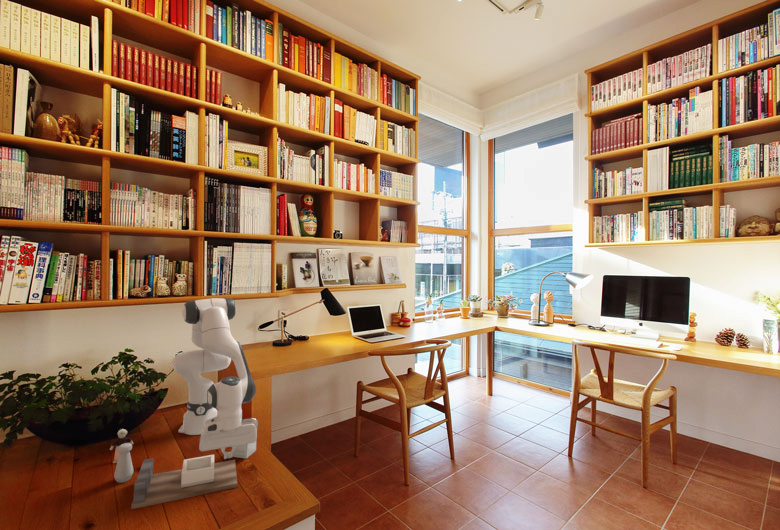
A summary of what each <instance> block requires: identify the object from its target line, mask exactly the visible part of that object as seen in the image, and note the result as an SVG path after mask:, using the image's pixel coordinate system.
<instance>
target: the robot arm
mask: <svg viewBox="0 0 780 530" xmlns="http://www.w3.org/2000/svg"><path fill="white" fill-rule="evenodd" d="M236 312H237V305H236V303H235V301H234V299H233V298H230V297H224V298H222V297H221V298H220V297H217V298H215V297H212V298H210V297H209V298H203V299H196V300H195V299H194V300H193V299H192V300H188V301H186V302H185V303H184V304H183V306H182V311H181V314H182V318H183V320H184V322H185V323H187V324H190V325H191V326H192V327H191V342H192V343H193V344H194V345H195V347H197V348H201V349H197V350H196V349H195V350H193V349H192V350H186V351H181V352H179V353H177V354H176V355H175V356H174V358H173V360H172V368H173V370H174V372H176V373H177V374H178V375H180V376H181V377H183V379H184V380H185V382H186V383H187V387H188V402H187V405H186V407H187V408H186V409H187V411H186V412H185V413H184V414H183V421H182V425H180V427H179V429H177V431H178V434H179V433H181V434H186V435H189V436H198V435H200V437H199V446H198V450H199V451H200V452H207V451H212V450H218V449H220V450H221V453H222V454H223V459H224V460H227V459H232V458H233V457H232V453H233V452H234V451H235V449H236V446H238V445H244V444H250V443H255V441H256V442H257V439H258V436H257V435H258V433H257V434H256V428H257V429H258V426H259V425H258V424H259V422H258V421H259V420H258V419H256V418H254V417H250V418H243V409H242V404H247V403H248V404H249V403H250V402H251V401H252V400H253V399H254V397H255V396H256V394H257V386H256V384H255V380H254V379H253V377H252V375H251V372H250V368H249V364H248V361H247V358H246V355H245V352H244V350H243V347H242V344H241V343H240V342H239V341H237V340H236V339H235V338H234V337H233V335H232V333H231V326H230V320H233V319H234V318H235V316H236ZM232 361H233V363H234V366H235V370H236V374H237V376H238V377H237V376H226V377H223V378H221V380H220V381H219V382H215V383H214V382H213V380H211V379H210V378H206V377H204V376H202V375H201V374H202V373H210V372H218V371H222V370H224V369H227V368H228V367H230V364H231V363H232ZM230 447H231V450H230V451H226V448H230Z"/></svg>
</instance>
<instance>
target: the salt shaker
mask: <svg viewBox="0 0 780 530" xmlns="http://www.w3.org/2000/svg"><path fill="white" fill-rule="evenodd" d="M132 449H133V444H131V443H129V442H126V443H124V444H121V445H120V446H119V447H118V452H119V458H118V462H117V463H116V466H115V471H114V476H113V477H114V479H115V481H116V483H119V484H122V483H126V482H128V481H130V480H131V478H132V476H133V474H134V466H133V462H132V461H133V460H132V456H131V452H130V451H132Z"/></svg>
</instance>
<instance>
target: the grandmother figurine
mask: <svg viewBox="0 0 780 530" xmlns="http://www.w3.org/2000/svg"><path fill="white" fill-rule="evenodd" d="M126 435H128V430H127V429H124V428H120V429H119V430H118V432H117V437H118V438H117V439H115V440H114V441H113V442H112V444H111V446H110V447H109V451H113V449H114V447H115V450H114V451H115V452H114V458H113V461H112V464H117V462H118V458H119V452H118V447H119V446H120V445H121V444H124V443H131V444H132V445H134V442H133V439H132V438H130V437H127V436H126Z"/></svg>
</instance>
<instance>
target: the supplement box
mask: <svg viewBox="0 0 780 530" xmlns="http://www.w3.org/2000/svg"><path fill="white" fill-rule="evenodd" d="M256 434H257V435H258V427H257V428H256ZM256 451H257V440H256V441H255V443H250V444H244V445H238V446H236V449H235V451H234V452H233V453H232V458H233V457H234V458H240V459H248V458H249V457H250V456H252V455H253V454H254V453H255V452H256Z"/></svg>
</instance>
